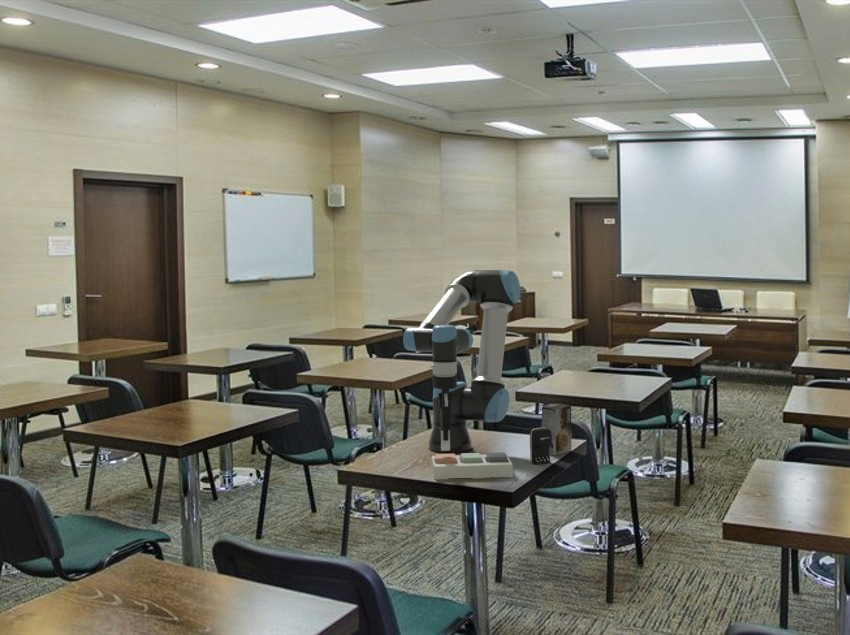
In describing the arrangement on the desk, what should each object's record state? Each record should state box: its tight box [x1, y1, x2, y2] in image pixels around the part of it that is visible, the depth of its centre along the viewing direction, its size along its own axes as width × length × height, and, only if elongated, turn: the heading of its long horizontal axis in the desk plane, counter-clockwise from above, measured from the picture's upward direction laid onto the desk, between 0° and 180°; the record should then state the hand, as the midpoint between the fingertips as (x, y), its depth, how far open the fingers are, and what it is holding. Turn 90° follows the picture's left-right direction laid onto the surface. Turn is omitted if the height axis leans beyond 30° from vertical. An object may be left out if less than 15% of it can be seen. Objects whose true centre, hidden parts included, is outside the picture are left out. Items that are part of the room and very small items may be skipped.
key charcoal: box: [485, 451, 509, 462], centre depth 266 cm, size 6×6×3 cm
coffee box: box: [541, 402, 573, 456], centre depth 292 cm, size 9×6×16 cm
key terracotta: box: [435, 453, 456, 464], centre depth 266 cm, size 6×6×3 cm
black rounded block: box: [529, 427, 552, 465], centre depth 277 cm, size 7×4×11 cm, turn 119°
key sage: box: [460, 452, 482, 463], centre depth 266 cm, size 6×6×3 cm
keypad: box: [431, 453, 514, 480], centre depth 266 cm, size 14×24×4 cm, turn 93°
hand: (445, 450), depth 265 cm, fingers closed
